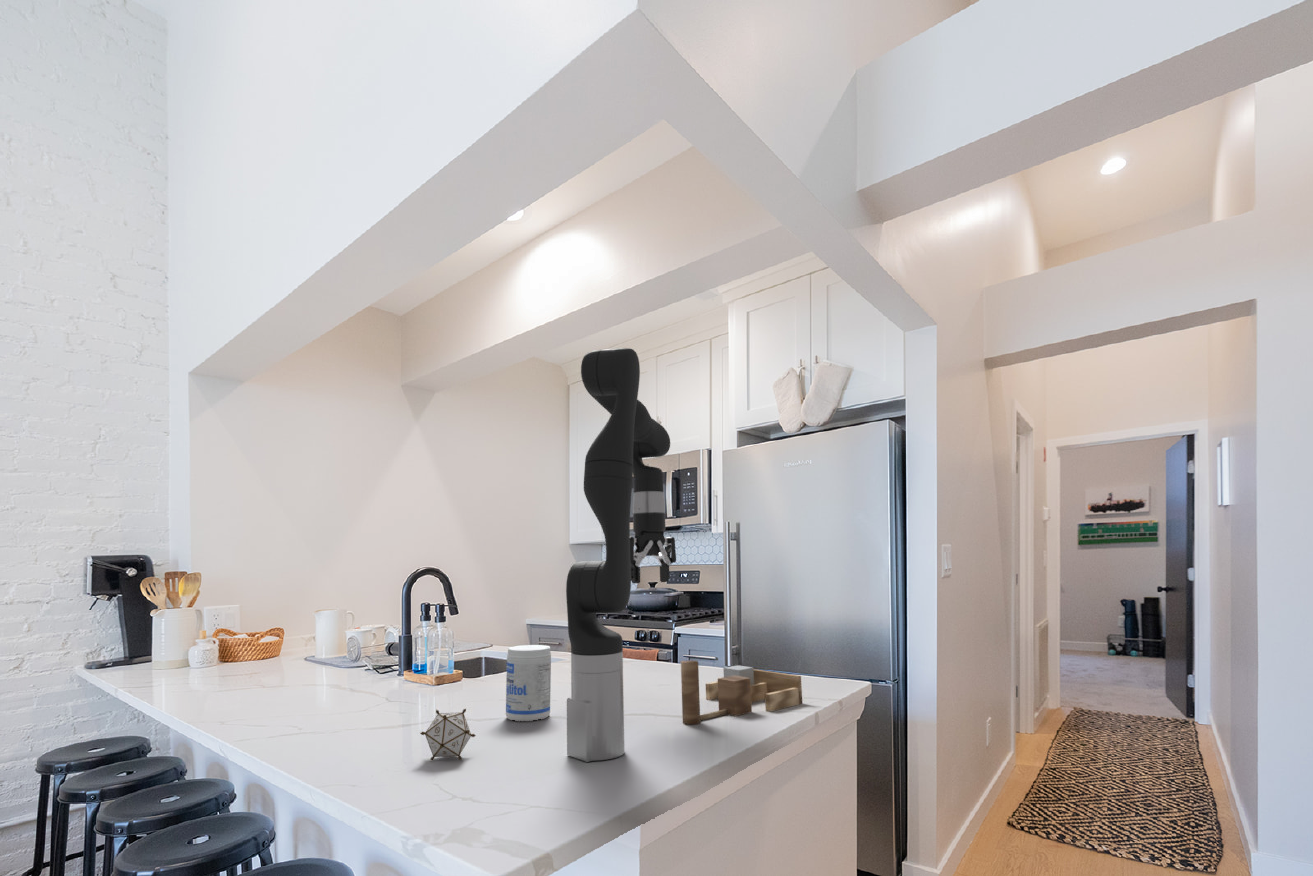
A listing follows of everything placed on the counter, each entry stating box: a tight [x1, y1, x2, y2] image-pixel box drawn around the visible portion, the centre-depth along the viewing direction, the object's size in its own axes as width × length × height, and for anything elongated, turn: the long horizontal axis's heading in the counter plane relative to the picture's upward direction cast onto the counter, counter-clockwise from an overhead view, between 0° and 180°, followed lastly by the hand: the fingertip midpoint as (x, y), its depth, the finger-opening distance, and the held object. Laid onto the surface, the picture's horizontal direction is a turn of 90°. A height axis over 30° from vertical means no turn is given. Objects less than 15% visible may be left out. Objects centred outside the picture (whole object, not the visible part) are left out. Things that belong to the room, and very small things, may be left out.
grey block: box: [723, 664, 754, 685], centre depth 167 cm, size 5×5×7 cm
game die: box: [419, 708, 477, 761], centre depth 124 cm, size 9×8×10 cm
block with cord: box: [680, 659, 753, 726], centre depth 149 cm, size 17×5×12 cm, turn 130°
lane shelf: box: [705, 668, 803, 712], centre depth 163 cm, size 11×20×6 cm, turn 40°
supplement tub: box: [505, 644, 552, 722], centre depth 154 cm, size 10×10×15 cm
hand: (650, 582), depth 162 cm, fingers open, 8 cm apart
